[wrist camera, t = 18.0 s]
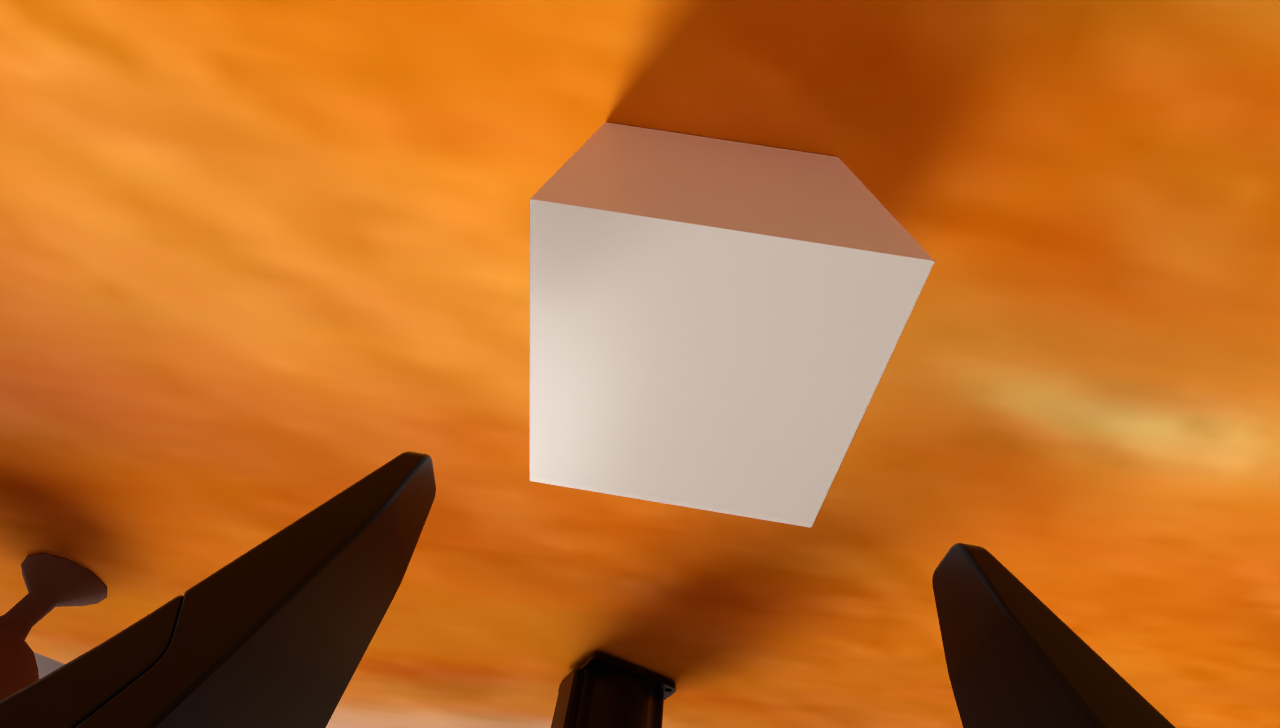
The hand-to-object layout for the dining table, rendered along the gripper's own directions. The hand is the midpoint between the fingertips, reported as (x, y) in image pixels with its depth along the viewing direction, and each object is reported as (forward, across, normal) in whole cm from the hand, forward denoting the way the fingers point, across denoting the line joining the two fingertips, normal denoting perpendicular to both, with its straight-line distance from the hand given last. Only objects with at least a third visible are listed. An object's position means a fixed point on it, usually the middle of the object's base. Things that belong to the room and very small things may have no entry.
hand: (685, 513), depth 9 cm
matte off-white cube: (+12, 0, 0) cm, 12 cm away
